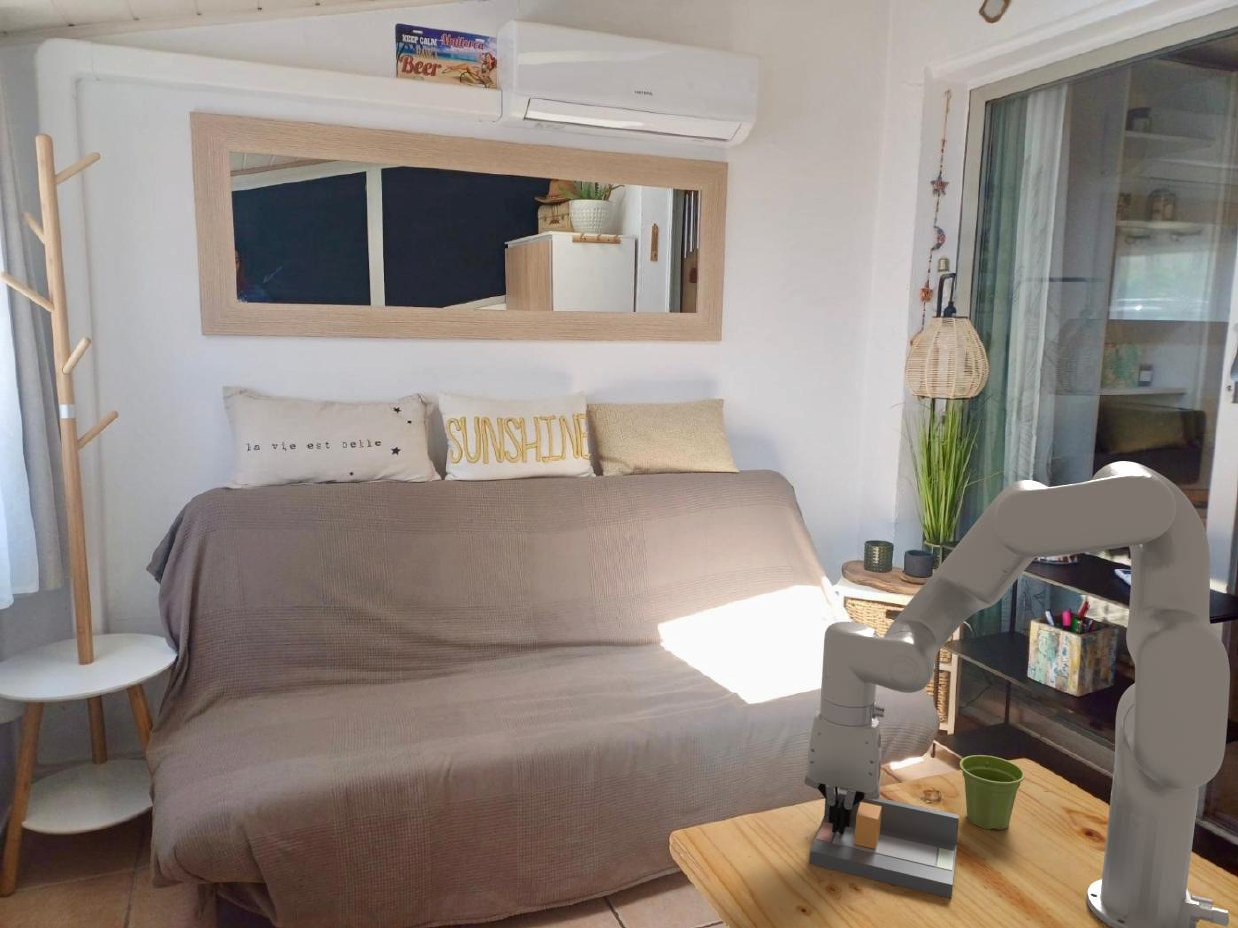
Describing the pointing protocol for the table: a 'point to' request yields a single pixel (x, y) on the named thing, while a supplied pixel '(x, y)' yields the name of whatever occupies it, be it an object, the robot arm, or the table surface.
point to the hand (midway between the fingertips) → (839, 828)
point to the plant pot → (990, 789)
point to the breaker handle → (868, 825)
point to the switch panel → (894, 847)
